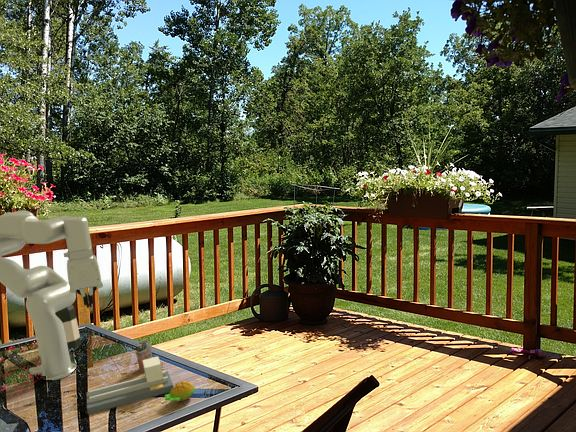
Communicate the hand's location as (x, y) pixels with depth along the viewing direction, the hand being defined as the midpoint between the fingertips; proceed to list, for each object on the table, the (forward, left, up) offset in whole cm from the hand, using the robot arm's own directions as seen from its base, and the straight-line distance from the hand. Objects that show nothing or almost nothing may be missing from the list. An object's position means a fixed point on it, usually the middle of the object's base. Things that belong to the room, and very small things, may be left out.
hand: (89, 306), depth 186 cm
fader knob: (+16, -19, -24) cm, 34 cm away
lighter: (+15, -1, -27) cm, 30 cm away
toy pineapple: (+22, -33, -27) cm, 47 cm away
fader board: (+8, -19, -26) cm, 33 cm away
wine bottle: (-11, +39, -27) cm, 49 cm away
